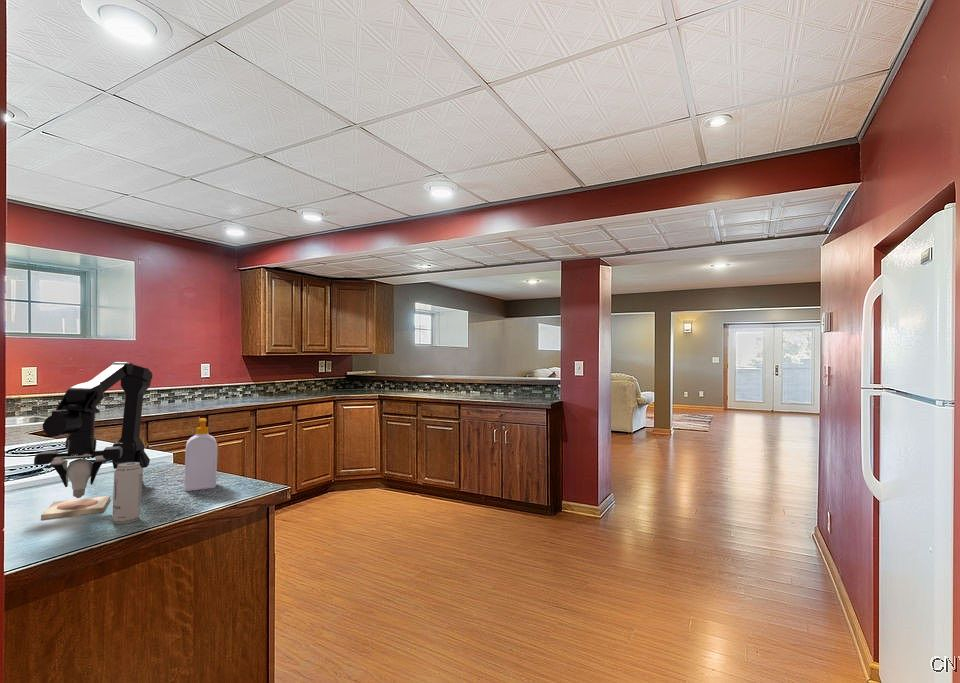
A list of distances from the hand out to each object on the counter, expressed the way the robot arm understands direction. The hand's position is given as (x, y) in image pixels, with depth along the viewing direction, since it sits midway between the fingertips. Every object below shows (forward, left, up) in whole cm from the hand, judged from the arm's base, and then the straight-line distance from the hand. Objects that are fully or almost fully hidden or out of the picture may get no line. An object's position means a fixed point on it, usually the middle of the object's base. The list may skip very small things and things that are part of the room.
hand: (79, 485), depth 134 cm
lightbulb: (0, 0, -4) cm, 4 cm away
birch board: (0, 0, -7) cm, 7 cm away
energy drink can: (-13, +18, -7) cm, 23 cm away
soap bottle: (-30, -10, -7) cm, 32 cm away
